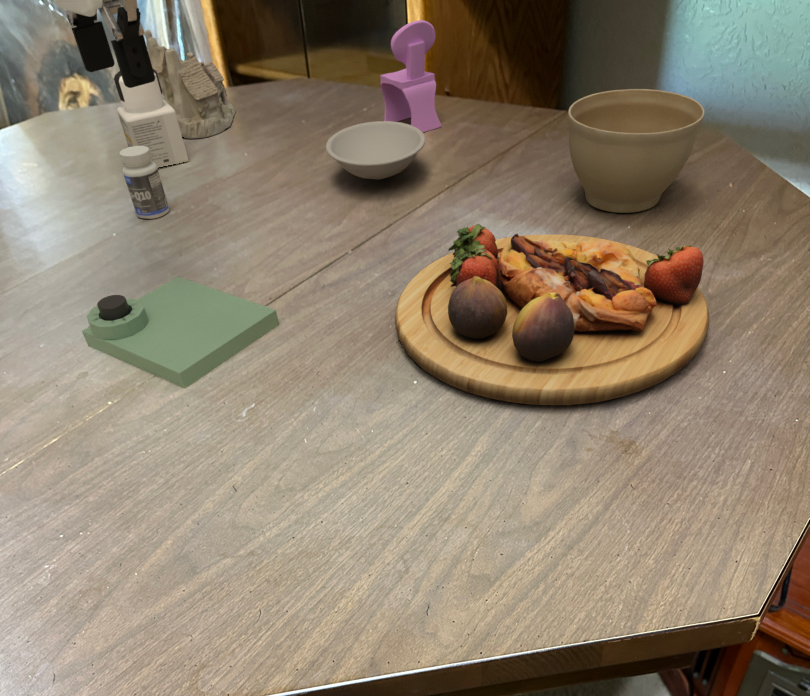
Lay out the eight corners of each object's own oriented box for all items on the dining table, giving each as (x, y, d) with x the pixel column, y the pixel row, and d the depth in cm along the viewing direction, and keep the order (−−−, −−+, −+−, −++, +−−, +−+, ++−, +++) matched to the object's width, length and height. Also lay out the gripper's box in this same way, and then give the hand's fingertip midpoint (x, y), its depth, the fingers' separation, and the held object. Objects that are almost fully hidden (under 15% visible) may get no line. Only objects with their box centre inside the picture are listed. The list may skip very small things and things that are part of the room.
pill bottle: (130, 218, 103) (109, 155, 97) (148, 205, 106) (128, 143, 100) (158, 221, 102) (138, 157, 96) (176, 207, 105) (157, 145, 99)
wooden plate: (707, 262, 83) (726, 187, 77) (702, 431, 62) (727, 348, 56) (439, 244, 91) (436, 175, 85) (355, 390, 70) (345, 313, 64)
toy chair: (416, 113, 126) (411, 9, 115) (446, 125, 121) (444, 17, 110) (377, 125, 123) (368, 19, 112) (406, 137, 118) (399, 28, 107)
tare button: (96, 317, 77) (91, 304, 76) (118, 305, 79) (113, 292, 78) (114, 324, 76) (108, 311, 75) (136, 312, 77) (131, 298, 76)
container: (132, 159, 120) (103, 69, 111) (177, 148, 122) (152, 59, 113) (142, 173, 115) (113, 80, 106) (189, 162, 117) (164, 69, 108)
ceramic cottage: (188, 142, 123) (164, 36, 113) (144, 127, 133) (118, 29, 123) (264, 123, 131) (247, 22, 121) (217, 111, 140) (198, 16, 130)
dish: (330, 161, 113) (326, 126, 110) (421, 152, 113) (419, 116, 110) (330, 206, 101) (325, 168, 98) (432, 196, 101) (430, 158, 98)
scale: (88, 346, 79) (75, 317, 77) (182, 291, 87) (174, 263, 84) (185, 389, 72) (174, 359, 70) (279, 325, 80) (273, 295, 77)
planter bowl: (551, 222, 93) (559, 129, 85) (570, 174, 103) (578, 87, 95) (682, 230, 89) (703, 133, 81) (688, 179, 99) (706, 89, 91)
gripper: (-24, -143, 66) (55, 72, 79) (45, -144, 57) (122, 101, 69) (54, -153, 69) (118, 55, 82) (132, -155, 60) (191, 81, 72)
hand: (120, 76), depth 75 cm, fingers open, 9 cm apart
